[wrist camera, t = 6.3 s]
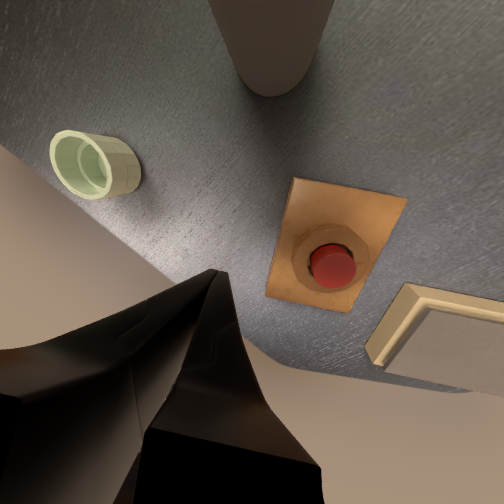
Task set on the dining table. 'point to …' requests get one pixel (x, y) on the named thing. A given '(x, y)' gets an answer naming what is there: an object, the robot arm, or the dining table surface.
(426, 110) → the dining table surface
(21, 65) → the dining table surface
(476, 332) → the pan
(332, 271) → the tare button
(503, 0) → the dining table surface
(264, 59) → the bottle
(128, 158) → the mint green cup
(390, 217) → the block
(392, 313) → the scale
